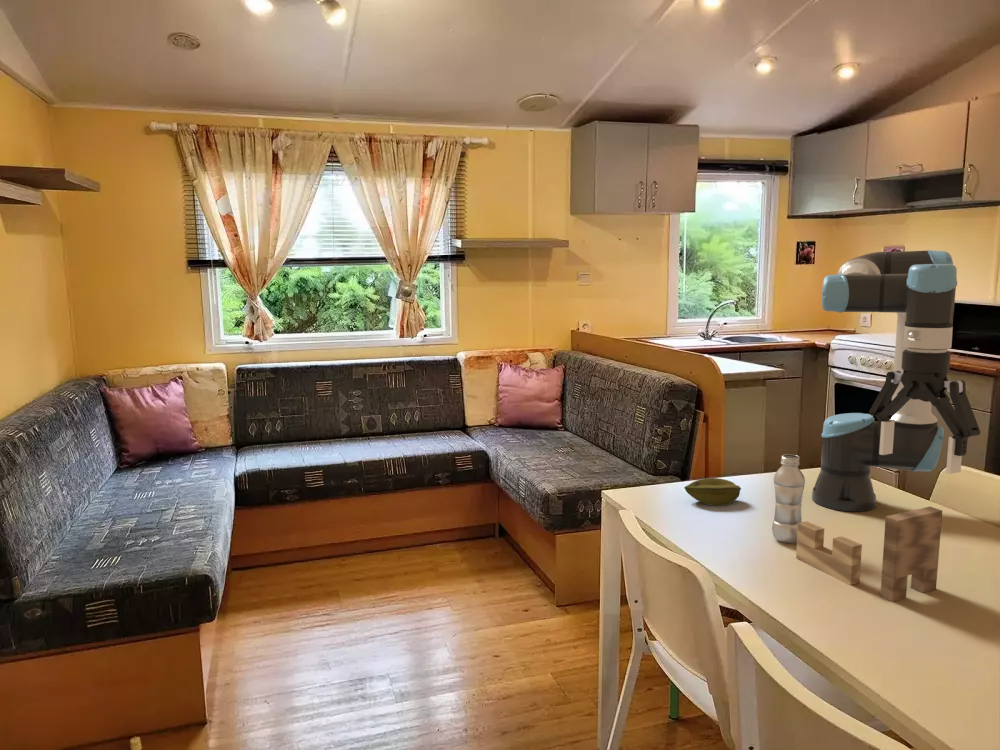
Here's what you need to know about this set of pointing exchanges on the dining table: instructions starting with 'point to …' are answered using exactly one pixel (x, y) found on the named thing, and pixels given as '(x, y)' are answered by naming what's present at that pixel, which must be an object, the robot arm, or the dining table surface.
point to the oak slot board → (829, 553)
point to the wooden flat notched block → (910, 552)
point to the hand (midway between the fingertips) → (917, 462)
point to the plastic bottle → (788, 499)
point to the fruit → (713, 491)
